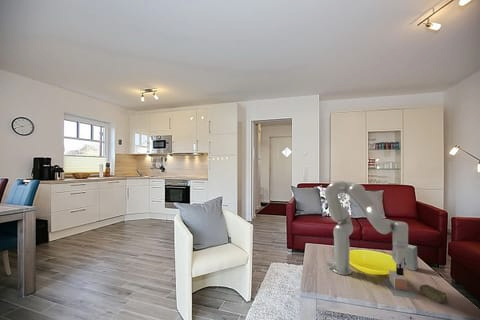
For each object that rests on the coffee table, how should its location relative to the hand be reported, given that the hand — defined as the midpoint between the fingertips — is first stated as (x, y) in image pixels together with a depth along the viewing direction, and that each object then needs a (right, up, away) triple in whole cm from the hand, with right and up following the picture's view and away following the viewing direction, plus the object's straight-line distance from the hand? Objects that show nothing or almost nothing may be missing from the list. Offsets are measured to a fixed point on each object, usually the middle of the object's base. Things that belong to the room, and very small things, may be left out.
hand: (399, 274), depth 136 cm
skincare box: (+25, -9, +28) cm, 38 cm away
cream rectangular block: (-1, -5, -2) cm, 5 cm away
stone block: (+12, -9, -9) cm, 17 cm away
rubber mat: (0, -8, 0) cm, 8 cm away
